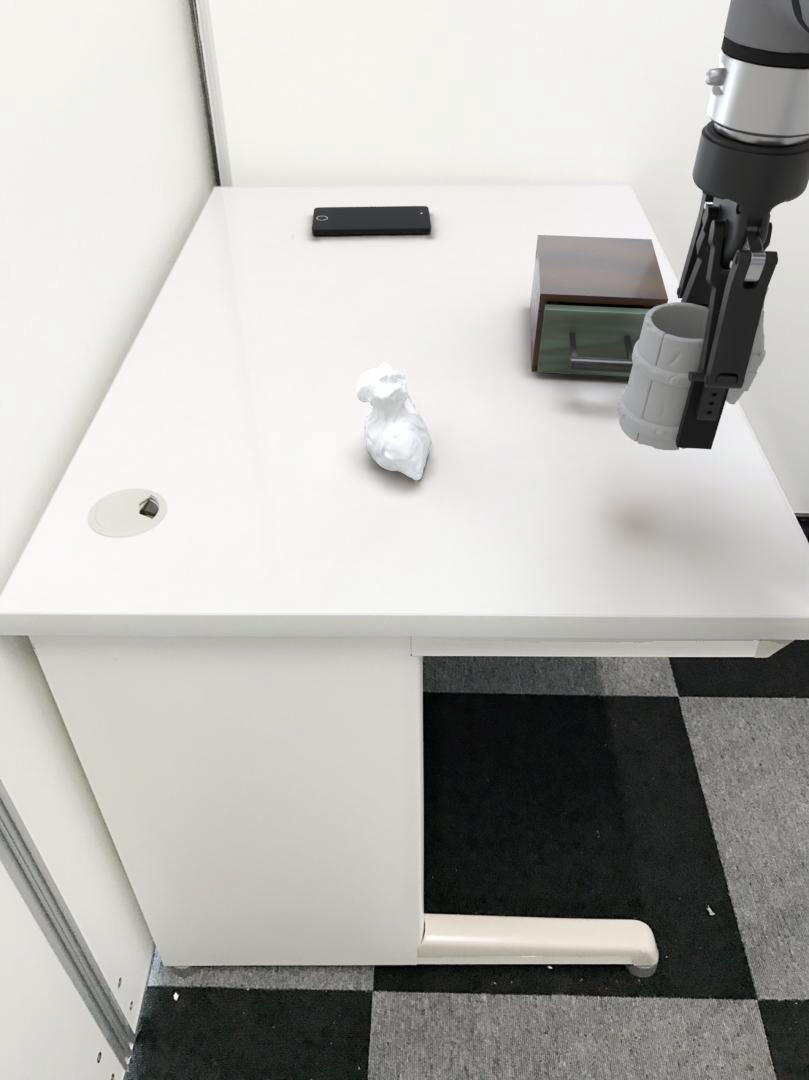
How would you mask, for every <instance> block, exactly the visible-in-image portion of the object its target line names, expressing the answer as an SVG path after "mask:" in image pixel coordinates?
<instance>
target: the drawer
mask: <svg viewBox="0 0 809 1080" xmlns="http://www.w3.org/2000/svg"><path fill="white" fill-rule="evenodd" d="M651 308H652V306H640V305H617V304H595V303H572V302H550V301H547V304H545V308H544V316H543V324H542V333H541V341H540V350H539V358H538V366H537V368H538V373H547V374H549V373H550V374H567V375H586V376H604V377H605V376H607V377H626V378H628V377H629V378H630V374H631V370H632V366H633V361H632V353H633V349H634V345H635V344H636V342H637V341H638V340H639V338H640V334H641V330H642V326H643V322H644V319H645V315H646V313H647V312H648V311H649V310H650V309H651Z"/></svg>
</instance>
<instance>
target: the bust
mask: <svg viewBox="0 0 809 1080" xmlns="http://www.w3.org/2000/svg"><path fill="white" fill-rule="evenodd" d="M355 390H356V395H355V396H356V398H357V399H358V401H360V402H362V403H369V404H370V406H371V408H370V409H369V411H368V413H367V414H366V415H365V418H364V419H363V423H362V425H363V433H364V434H363V435H364V444H365V445H364V446H365V449H366V451H367V452H368V454H369V455H370V456H371V458H372V460H373V461H375V462H376V463H377V465H378V466H380V468H382V469H384V470H385V471H389V472H399V473H401V474H403V475H405V476H406V477H408V478H410V479H412V480H414V481H419V480H421V478H422V477H423V474H424V468H425V467H426V463H427V459H428V455H429V452H430V449H431V448H432V445H433V441H432V437H431V435H430V432H429V430H428V427H427V425H426V423H425V421H424V419H423V418H422V415H421V414H420V412H419V411H418V410H417V409H416V405H415V404H414V403H413V400H412V398H411V396H410V395H409V392H408V390H407V381H406V377H405V374H401V372H399V371H397V370H393V369H392V368H391V366H390V365H389V363H388V362H382V363H381V364H380V366H377V367H374V368H371V369H367V370H364V371H363V372H362V373H361V374H360V376H359V378H358V381H357V382H356V389H355Z"/></svg>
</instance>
